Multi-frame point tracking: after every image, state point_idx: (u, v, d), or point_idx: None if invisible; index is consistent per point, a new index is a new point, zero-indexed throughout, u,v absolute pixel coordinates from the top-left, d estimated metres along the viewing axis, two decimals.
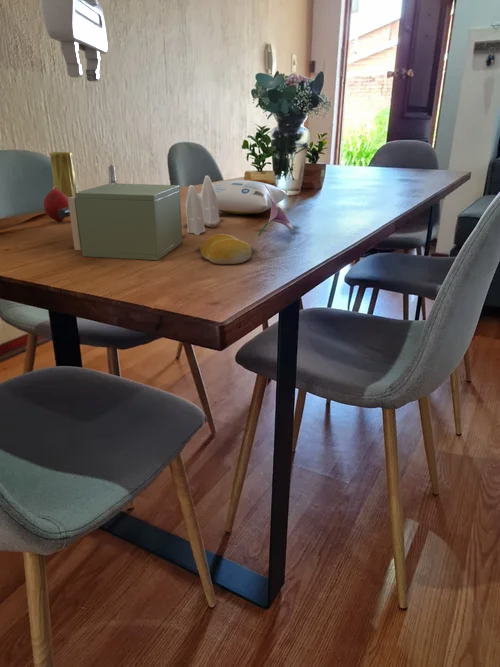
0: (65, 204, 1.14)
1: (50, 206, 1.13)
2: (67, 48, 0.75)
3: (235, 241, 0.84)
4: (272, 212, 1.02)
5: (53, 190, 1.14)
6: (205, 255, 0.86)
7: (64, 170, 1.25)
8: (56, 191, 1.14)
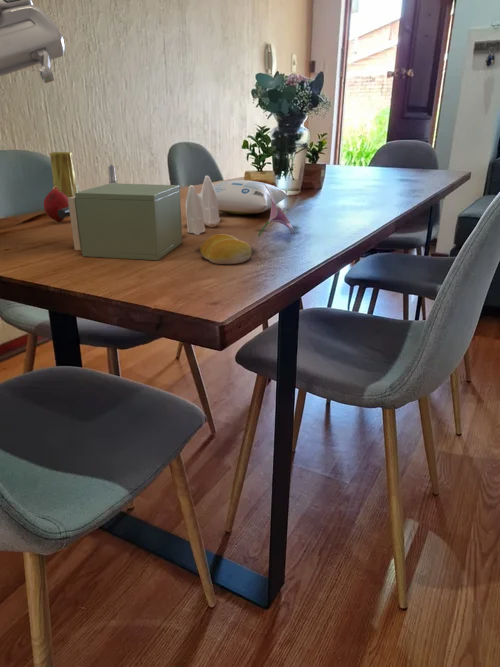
0: (65, 204, 1.14)
1: (50, 206, 1.13)
2: None
3: (235, 241, 0.84)
4: (272, 212, 1.02)
5: (53, 190, 1.14)
6: (205, 255, 0.86)
7: (64, 170, 1.25)
8: (56, 191, 1.14)
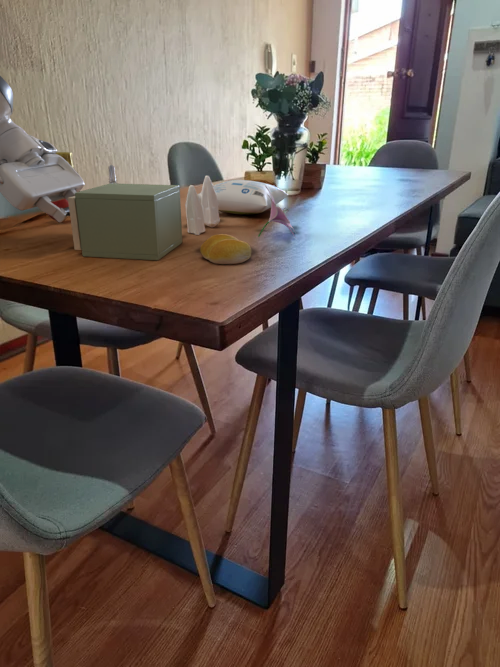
0: (65, 204, 1.14)
1: None
2: None
3: (235, 241, 0.84)
4: (272, 212, 1.02)
5: None
6: (205, 255, 0.86)
7: None
8: None
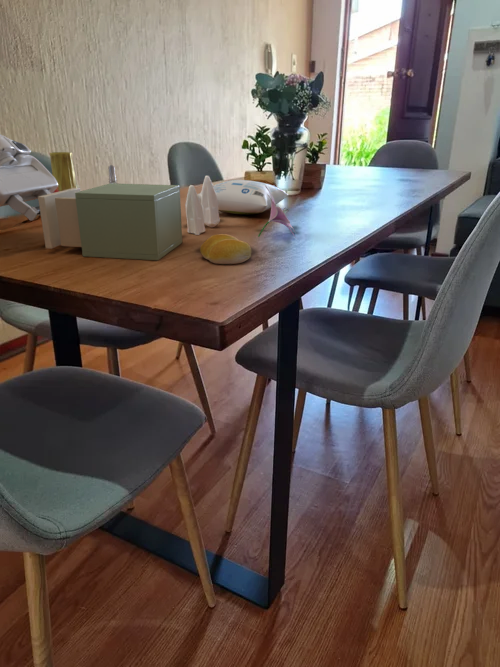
0: None
1: None
2: None
3: (235, 241, 0.84)
4: (272, 212, 1.02)
5: None
6: (205, 255, 0.86)
7: (64, 170, 1.25)
8: (56, 191, 1.14)
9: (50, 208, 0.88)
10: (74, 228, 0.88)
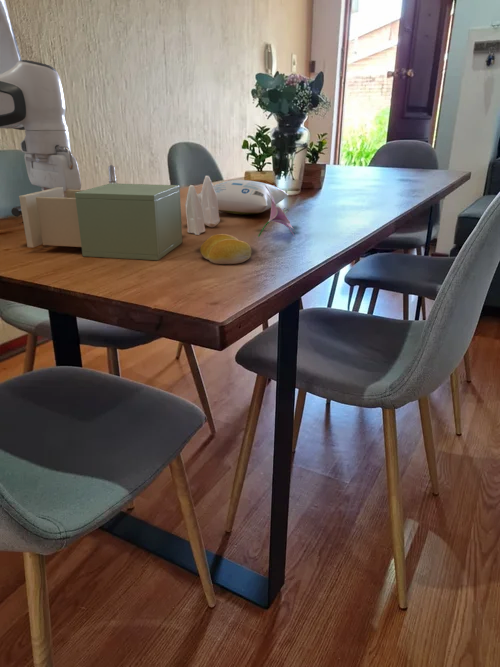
0: None
1: None
2: None
3: (235, 241, 0.84)
4: (272, 212, 1.02)
5: None
6: (205, 255, 0.86)
7: None
8: None
9: (31, 208, 0.89)
10: (56, 227, 0.89)
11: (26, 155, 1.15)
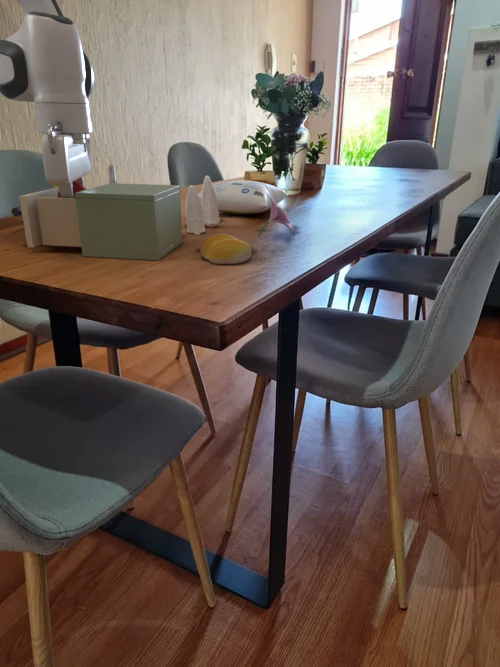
0: None
1: None
2: None
3: (235, 241, 0.84)
4: (272, 212, 1.02)
5: None
6: (205, 255, 0.86)
7: None
8: None
9: (31, 208, 0.89)
10: (56, 227, 0.89)
11: None
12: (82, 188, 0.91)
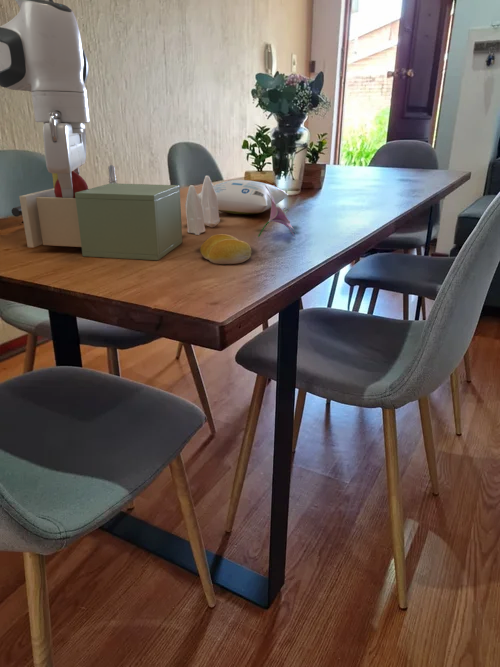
0: None
1: (56, 190, 0.89)
2: None
3: (235, 241, 0.84)
4: (272, 212, 1.02)
5: None
6: (205, 255, 0.86)
7: None
8: None
9: (31, 208, 0.89)
10: (56, 227, 0.89)
11: None
12: (80, 178, 0.90)
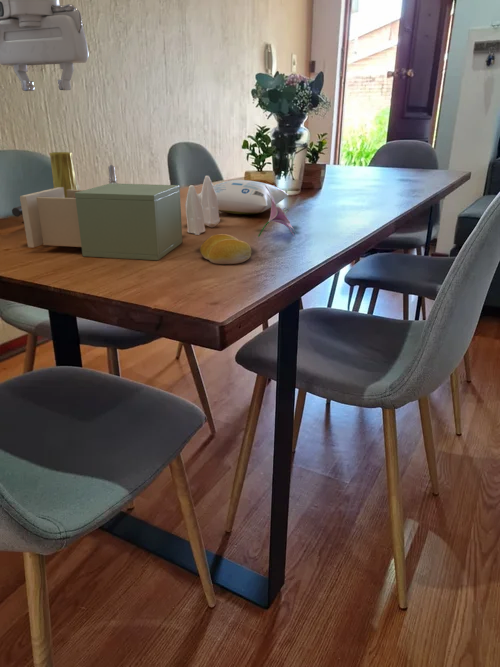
0: None
1: None
2: None
3: (235, 241, 0.84)
4: (272, 212, 1.02)
5: None
6: (205, 255, 0.86)
7: (64, 170, 1.25)
8: None
9: (32, 208, 0.89)
10: (56, 227, 0.89)
11: None
12: None
